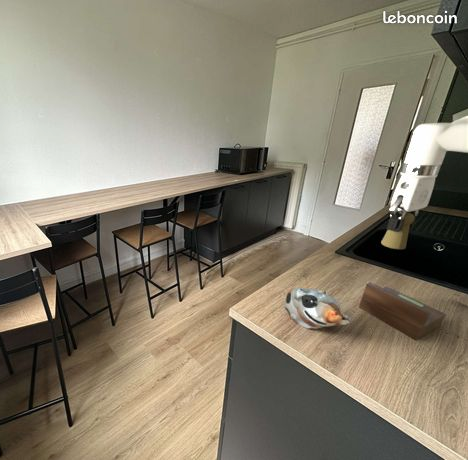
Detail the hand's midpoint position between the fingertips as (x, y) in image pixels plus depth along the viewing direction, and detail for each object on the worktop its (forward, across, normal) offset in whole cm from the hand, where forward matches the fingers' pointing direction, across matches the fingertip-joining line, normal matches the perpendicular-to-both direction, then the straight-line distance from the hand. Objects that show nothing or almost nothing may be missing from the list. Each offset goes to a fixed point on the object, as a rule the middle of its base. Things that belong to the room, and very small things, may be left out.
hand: (399, 228), depth 78 cm
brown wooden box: (+21, -12, -11) cm, 27 cm away
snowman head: (+21, -35, -3) cm, 41 cm away
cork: (+6, 0, 0) cm, 6 cm away
